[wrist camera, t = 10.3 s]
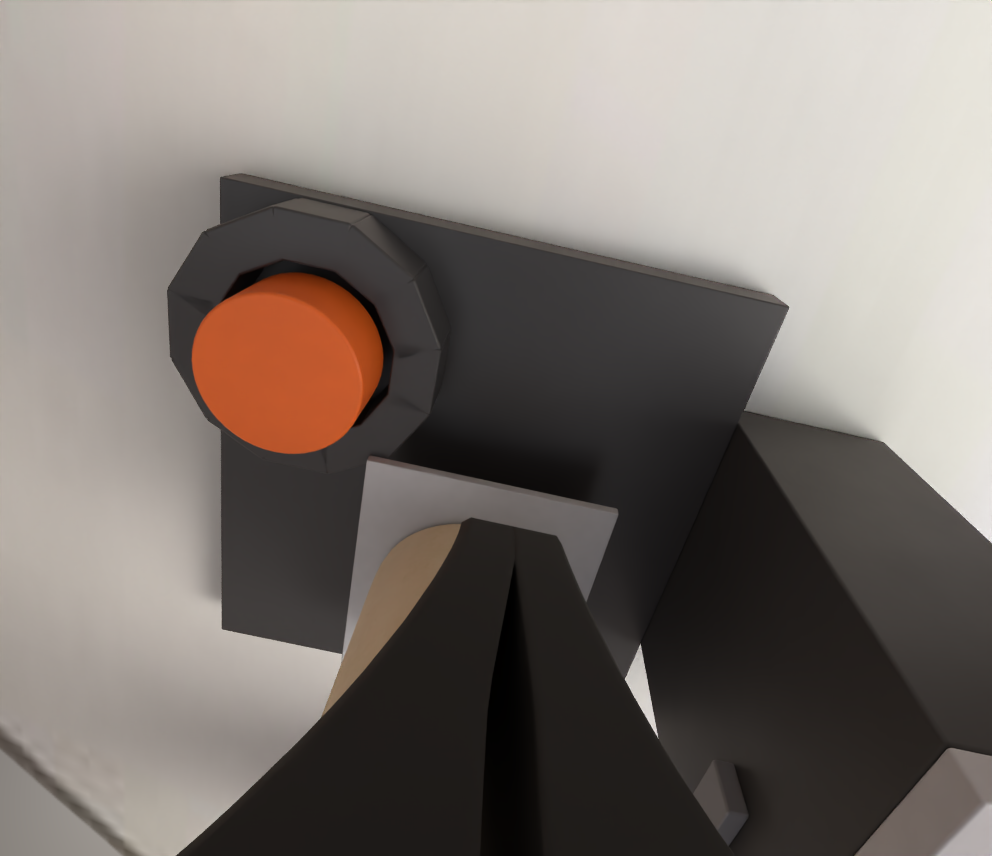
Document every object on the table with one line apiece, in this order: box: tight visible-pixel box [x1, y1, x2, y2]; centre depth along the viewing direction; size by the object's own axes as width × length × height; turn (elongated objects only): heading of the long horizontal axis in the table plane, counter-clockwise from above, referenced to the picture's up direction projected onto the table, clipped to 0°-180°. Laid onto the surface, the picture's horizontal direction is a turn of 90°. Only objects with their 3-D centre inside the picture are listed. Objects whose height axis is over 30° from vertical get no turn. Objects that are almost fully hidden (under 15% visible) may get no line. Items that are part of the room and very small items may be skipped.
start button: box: [192, 272, 383, 454], centre depth 15 cm, size 4×4×2 cm
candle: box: [322, 524, 461, 716], centre depth 14 cm, size 6×6×10 cm
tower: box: [341, 411, 992, 856], centre depth 15 cm, size 10×15×12 cm
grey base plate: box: [167, 174, 789, 679], centre depth 19 cm, size 16×15×3 cm
